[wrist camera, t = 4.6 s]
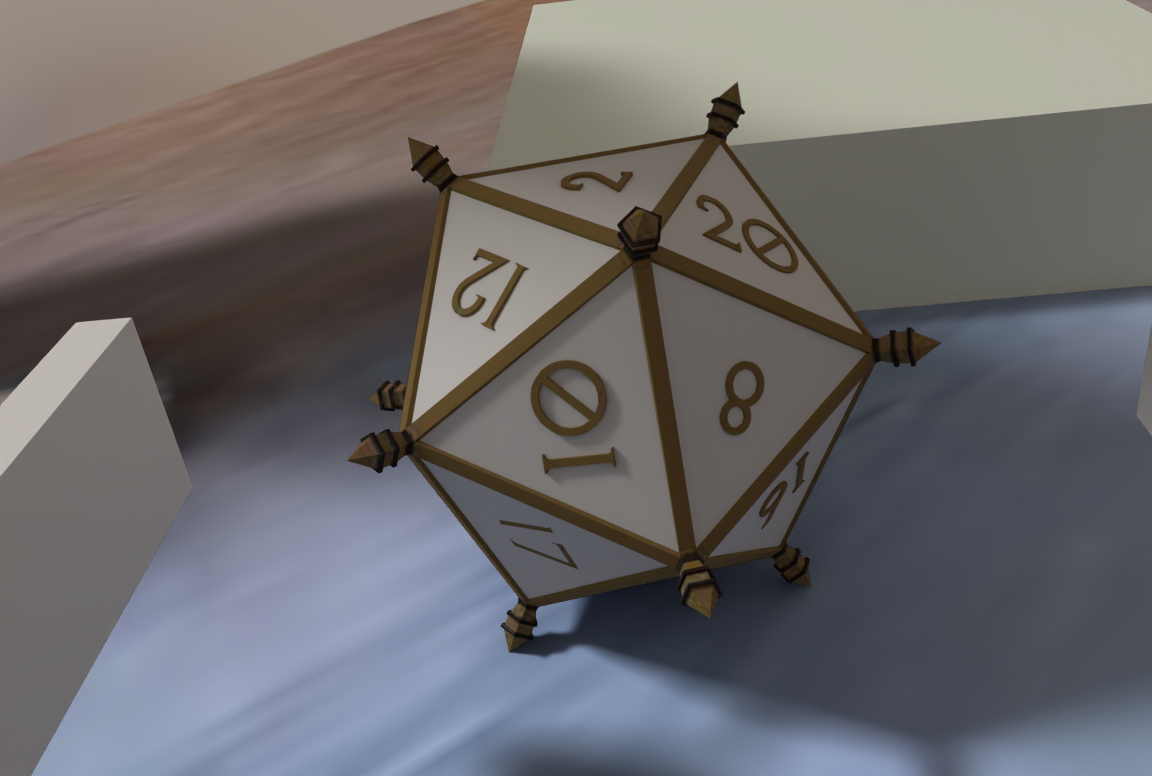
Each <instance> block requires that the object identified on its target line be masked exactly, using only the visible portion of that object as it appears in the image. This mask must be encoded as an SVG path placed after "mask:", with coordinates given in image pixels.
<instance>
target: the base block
mask: <svg viewBox="0 0 1152 776" xmlns="http://www.w3.org/2000/svg"><path fill="white" fill-rule="evenodd" d="M736 82H738V87H739V93H740V99H741V105H742V109H743V110H744V111H745V114H744V115H742V114H741V115H740V117H739V119H738V121H737V124H738V125H739V126H738V128H734V129H733V130H732V131H731V132H730V134H729V135H728V136H727V139H726V143H727V145H728V146H729V147H730V149H731V150H732V151H733V153H734V154H735V155H736V156H737V158H738V159H739V160H740V162H741V163H742V164H743V166H744V167H745V168H746V170H747V171H748V172H749V174H750V175H751V176H752V178H753V179H754V180H755V182H756V183H757V184H758V185H759V187H760V188H761V189H762V191H763V192H764V193H765V195H766V196H767V197H768V199H769V200H770V201H771V203H772V204H773V205H774V207H775V208H776V209H777V211H778V212H779V213H780V215H781V216H782V217H783V218H784V220H785V221H786V222H787V224H788V225H789V226H790V228H791V229H792V230H793V232H794V233H795V234H796V236H797V237H798V238H799V240H800V241H801V242H802V244H803V245H804V246H805V247H806V249H807V250H808V251H809V253H810V254H811V255H812V257H813V258H814V259H815V261H816V262H817V263H818V265H819V266H820V267H821V269H822V270H823V271H824V273H825V274H826V275H827V276H828V278H829V279H830V280H831V282H832V283H833V284H834V286H835V287H836V288H837V290H838V291H839V292H840V294H841V295H842V296H843V298H844V299H845V300H846V302H847V303H848V304H849V305H850V307H851V308H852V309H853V311H865V310H876V309H888V308H899V307H910V306H922V305H933V304H945V303H956V302H967V301H979V300H990V299H1002V298H1013V297H1024V296H1036V295H1047V294H1059V293H1070V292H1081V291H1093V290H1104V289H1116V288H1127V287H1138V286H1150V285H1152V14H1151V13H1149V12H1147V11H1145V10H1143V9H1142V8H1140V7H1138V6H1136V5H1134V4H1132V3H1130V2H1128V1H1126V0H575V1H566V2H557V3H548V4H540V5H534V6H533V10H532V13H531V17H530V20H529V24H528V27H527V31H526V34H525V38H524V42H523V45H522V49H521V52H520V56H519V59H518V63H517V66H516V70H515V73H514V77H513V81H512V84H511V88H510V91H509V95H508V98H507V102H506V105H505V109H504V112H503V116H502V120H501V123H500V127H499V130H498V134H497V137H496V141H495V144H494V148H493V152H492V155H491V159H490V162H489V166H488V169H487V171H492V170H498V169H504V168H510V167H515V166H521V165H527V164H533V163H539V162H544V161H550V160H556V159H562V158H568V157H574V156H579V155H585V154H591V153H597V152H603V151H609V150H614V149H620V148H626V147H632V146H638V145H643V144H649V143H655V142H661V141H667V140H673V139H678V138H684V137H690V136H696V135H702V134H704V133H705V132H706V131H707V130H708V121H709V118H707V117H706V115H707V113H710V112H711V110H712V107H713V104H712V103H711V100H712V99H714V98H716V97H719V96H721V95H722V94H723V93H724V92H725V91H727V90H728V89H729V88H730V87H732V86H733V85H734V84H735V83H736Z"/></svg>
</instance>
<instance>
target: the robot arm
mask: <svg viewBox="0 0 1152 776" xmlns="http://www.w3.org/2000/svg"><path fill="white" fill-rule="evenodd" d="M1136 416H1137V417H1138V419H1139V420H1140V421H1141V423H1142V424H1143V425H1144V427H1145V428H1146V429H1147V431H1148V432H1149V433H1150V435H1151V436H1152V327H1151V333H1150V338H1149V344H1148V350H1147V355H1146V361H1145V367H1144V372H1143V378H1142V384H1141V390H1140V395H1139V401H1138V407H1137V412H1136ZM192 487H193V486H192V483H191V481H190V478H189V475H188V472H187V469H186V467H185V464H184V461H183V458H182V456H181V453H180V450H179V447H178V444H177V442H176V439H175V436H174V433H173V431H172V428H171V425H170V422H169V419H168V417H167V414H166V411H165V408H164V406H163V403H162V400H161V397H160V395H159V392H158V389H157V386H156V383H155V381H154V378H153V375H152V372H151V370H150V367H149V364H148V361H147V358H146V356H145V353H144V350H143V347H142V345H141V342H140V339H139V336H138V333H137V331H136V328H135V325H134V322H133V320H132V317H131V318H120V319H109V320H97V321H86V322H76V323H75V324H74V325H73V326H72V327H71V329H70V330H69V331H68V332H67V333H66V334H65V335H64V336H63V337H62V338H61V340H60V341H59V342H58V343H57V344H56V345H55V346H54V347H53V348H52V349H51V350H50V352H49V353H48V354H47V355H46V356H45V357H44V358H43V359H42V360H41V361H40V362H39V364H38V365H37V366H36V367H35V368H34V369H33V370H32V371H31V372H30V373H29V375H28V376H27V377H26V378H25V379H24V380H23V381H22V382H21V383H20V384H19V385H18V387H17V388H16V389H15V390H14V391H13V392H12V393H11V394H10V395H9V396H8V397H7V399H6V400H5V401H4V402H3V403H2V404H1V405H0V776H31V775H32V773H33V771H34V769H35V767H36V766H37V764H38V762H39V760H40V758H41V757H42V755H43V753H44V751H45V750H46V748H47V746H48V744H49V742H50V741H51V739H52V737H53V735H54V734H55V732H56V730H57V728H58V726H59V725H60V723H61V721H62V719H63V717H64V716H65V714H66V712H67V710H68V709H69V707H70V705H71V703H72V701H73V700H74V698H75V696H76V694H77V692H78V691H79V689H80V687H81V685H82V684H83V682H84V680H85V678H86V676H87V675H88V673H89V671H90V669H91V668H92V666H93V664H94V662H95V660H96V659H97V657H98V655H99V653H100V651H101V650H102V648H103V646H104V644H105V643H106V641H107V639H108V637H109V635H110V634H111V632H112V630H113V628H114V627H115V625H116V623H117V621H118V619H119V618H120V616H121V614H122V612H123V610H124V609H125V607H126V605H127V603H128V602H129V600H130V598H131V596H132V594H133V593H134V591H135V589H136V587H137V585H138V584H139V582H140V580H141V578H142V577H143V575H144V573H145V571H146V569H147V568H148V566H149V564H150V562H151V561H152V559H153V557H154V555H155V553H156V552H157V550H158V548H159V546H160V544H161V543H162V541H163V539H164V537H165V536H166V534H167V532H168V530H169V528H170V527H171V525H172V523H173V521H174V519H175V518H176V516H177V514H178V512H179V511H180V509H181V507H182V505H183V503H184V502H185V500H186V498H187V496H188V495H189V493H190V491H191V489H192Z"/></svg>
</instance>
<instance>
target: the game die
mask: <svg viewBox="0 0 1152 776" xmlns="http://www.w3.org/2000/svg"><path fill="white" fill-rule="evenodd" d="M711 103H712V104H713V107H712V110H711V112H710V113H707V115H706V117H707V118H709V121H708V130H707V131H706V132H705V133H704V134H702V135H696V136H690V137H684V138H678V139H673V140H667V141H661V142H655V143H649V144H643V145H638V146H632V147H626V148H620V149H614V150H609V151H603V152H597V153H591V154H585V155H579V156H574V157H568V158H562V159H556V160H550V161H544V162H539V163H533V164H527V165H521V166H515V167H510V168H504V169H498V170H492V171H486V172H480V173H475V174H469V175H463V176H457V175H455V174H453V173H452V171H451V169H450V167H449V165H448V163H447V162H448V161H449V159H448V158H447V157H446V158H445V159H444V158H443V156H442V155H441V154H440V153H439V151H438V149H439V147H438V146H437V145H436V146H435V147H433V146H431V145H428V144H425V143H422V142H420V141H417V140H414V139H411V138H409V137H408V140H409V146H410V151H411V157H412V163H413V167H412V168H411V170H412V171H413V172H414V171H415V170H416V171H417V172H418V173H419V174H420V175H421V176H422V177H423V179H422V181H423V182H424V183H425V182H426V181H428V182H430V183H432V184H433V185H435V186H437V187H438V189H439V191H440V198H439V204H438V209H437V215H436V221H435V227H434V232H433V238H432V244H431V250H430V255H429V261H428V267H427V273H426V278H425V284H424V290H423V295H422V301H421V307H420V313H419V318H418V324H417V330H416V336H415V341H414V347H413V353H412V359H411V364H410V370H409V376H408V381H407V385H404V384H402V383H401V382H400V381H399V380H396V382H395V383H390V382H389V381H385V382H384V383H383V384H382V385H381V387H380V388H379V389H378V390H377V392H376V393H375V394H374V395H373V396H372V397H371V398H369V399H370V400H371V401H373V402H374V403H376V404H377V405H379V406H380V409H381V410H385V411H395V409H402V410H403V412H402V418H401V425H400V431H399V432H391V431H390V430H389V429H386V430H384V431H382V432H381V433H379V434H377V435H375V433H374V432H373V433H370V434H368V435H367V436H365V437H363V438H362V439H361V444H360V445H359V447H358V448H357V449H356V450H355V451H354V453H353V454H352V455H351V456H350V457H349V459H348V460H347V461H350V462H354V463H357V464H360V465H364V466H367V467H371V468H372V469H374V470H375V471H376V472H378V473H381V472H382V471H383V467H386V466H389V465H390V466H392V467H396V466H397V462H398V460H400V459H401V458H402V457H403V456H405V455H407V456H408V457H409V458H410V459H411V461H412V462H413V463H414V465H415V466H416V467H417V468H418V470H419V471H420V472H421V473H422V475H423V476H424V477H425V479H426V480H427V481H428V482H429V484H430V485H431V486H432V487H433V489H434V490H435V491H436V493H437V494H438V495H439V496H440V498H441V499H442V500H443V501H444V503H445V504H446V505H447V507H448V508H449V509H450V510H451V512H452V513H453V514H454V515H455V517H456V518H457V519H458V521H459V522H460V523H461V524H462V526H463V527H464V528H465V530H466V531H467V532H468V533H469V535H470V536H471V537H472V538H473V540H474V541H475V542H476V544H477V545H478V546H479V547H480V549H481V550H482V551H483V552H484V554H485V555H486V556H487V558H488V559H489V560H490V561H491V563H492V564H493V565H494V566H495V568H496V569H497V570H498V572H499V573H500V574H501V575H502V577H503V578H504V579H505V580H506V582H507V583H508V584H509V586H510V587H511V588H512V589H513V591H514V592H515V593H516V594H517V596H518V597H519V598H518V603H517V605H516V606H515V607H514V608H513V610H509V611H508V612H507V614H508V615H509V616H508V619H507V621H506V623H502V624H501V627H502V628H504V631H505V635H506V640H507V645H508V649H509V652H511V651H512V650H513V649H515V648H516V647H518V646H519V645H521V644H522V643H524V642H525V641H527V640H532V639H533V635H532V630H533V627H537V620H536V610H537V609H538V607H540V606H544V605H549V604H554V603H558V602H563V601H568V600H572V599H577V598H582V597H586V596H591V595H596V594H600V593H605V592H610V591H614V590H619V589H624V588H628V587H633V586H637V585H642V584H647V583H651V582H656V581H661V580H665V579H670V578H675V577H679V576H680V579H679V581H678V583H677V586H676V589H677V591H681V593H682V597H681V600H680V604H681V605H685V606H689V607H692V608H694V609H695V610H697V611H699V612H700V613H702V614H703V615H705V616H707V617H708V618H711V615H712V612H713V610H714V607H715V604H716V602H717V599H718V598H720V597H721V596H722V593H721V591H720V589H719V587H718V585H717V584H716V580H715V578H714V576H713V574H712V572H711V570H712V569H717V568H721V567H726V566H731V565H735V564H740V563H745V562H749V561H754V560H759V559H763V558H768V557H772V558H773V560H774V562H775V564H774V565H773V566H774V567H775V568H776V569H777V570H778V571H779V572H780V573H781V574H782V573H783V574H782V575H781V576H782V577H783V578H784V579H785V580H786V581H787V582H788V583H789V584H791V583H792V582H794V583H798V584H802V585H806V586H810V578H809V570H808V565H809V561H810V559H809V558H808V557H807V558H804V557H803V556H802V555H801V554H800V552H801V550H800V549H799V548H797V549H793V548H791V547H790V546H788V545H787V544H786V541H787V539H788V537H789V535H790V533H791V531H792V529H793V527H794V525H795V523H796V521H797V519H798V517H799V515H800V513H801V511H802V509H803V507H804V505H805V503H806V501H807V499H808V497H809V495H810V493H811V491H812V489H813V487H814V485H815V483H816V481H817V479H818V477H819V475H820V473H821V471H822V469H823V467H824V465H825V463H826V461H827V459H828V457H829V455H830V453H831V451H832V449H833V447H834V445H835V443H836V441H837V439H838V437H839V435H840V433H841V431H842V429H843V427H844V425H845V423H846V421H847V419H848V417H849V415H850V413H851V411H852V409H853V407H854V405H855V403H856V401H857V399H858V397H859V395H860V393H861V391H862V389H863V387H864V385H865V383H866V381H867V379H868V377H869V375H870V373H871V371H872V369H873V367H874V365H875V363H877V362H879V361H885V362H890V363H894V366H895V367H899V363H911V366H915V365H916V361H918V360H919V359H920V358H922V357H923V356H924V355H926V354H927V353H929V352H930V351H931V350H933V349H934V348H935V347H937V346H938V345H939V344H941V343H940V342H938V341H935V340H933V339H930V338H928V337H925V336H923V335H920V334H918V333H916V332H915V331H914V330H913V329H912V328H911V327H910V328H907V331H905V332H898V333H897V332H896V331H895V330H891V331H890V334H889V335H886V336H884V337H881V338H879V339H878V338H874V337H873V336H872V335H871V333H870V332H869V331H868V329H867V328H866V327H865V325H864V324H863V323H862V321H861V320H860V319H859V317H858V316H857V315H856V313H855V312H854V311H853V309H852V308H851V307H850V305H849V304H848V303H847V302H846V300H845V299H844V298H843V296H842V295H841V294H840V292H839V291H838V290H837V288H836V287H835V286H834V284H833V283H832V282H831V280H830V279H829V278H828V276H827V275H826V274H825V273H824V271H823V270H822V269H821V267H820V266H819V265H818V263H817V262H816V261H815V259H814V258H813V257H812V255H811V254H810V253H809V251H808V250H807V249H806V247H805V246H804V245H803V244H802V242H801V241H800V240H799V238H798V237H797V236H796V234H795V233H794V232H793V230H792V229H791V228H790V226H789V225H788V224H787V222H786V221H785V220H784V218H783V217H782V216H781V215H780V213H779V212H778V211H777V209H776V208H775V207H774V205H773V204H772V203H771V201H770V200H769V199H768V197H767V196H766V195H765V193H764V192H763V191H762V189H761V188H760V187H759V185H758V184H757V183H756V182H755V180H754V179H753V178H752V176H751V175H750V174H749V172H748V171H747V170H746V168H745V167H744V166H743V164H742V163H741V162H740V160H739V159H738V158H737V156H736V155H735V154H734V153H733V151H732V150H731V149H730V147H729V146H728V145H727V143H726V139H727V136H728V135H729V134H730V132H731V131H732V130H733V129H734V128H738V126H739V125H738V124H737V121H738V119H739V117H740V115H741V114H742V115H744V114H745V111H744V110H743V109H742V105H741V99H740V93H739V87H738V82H736V83H735V84H734V85H733V86H732V87H730V88H729V89H728V90H727V91H725V92H724V93H723V94H722V95H721V96H719V97H716V98H714V99H712V100H711ZM810 587H811V586H810Z"/></svg>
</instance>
